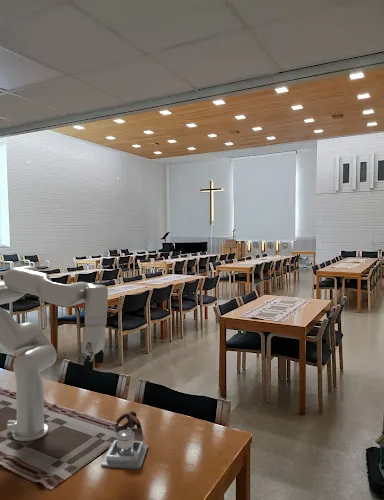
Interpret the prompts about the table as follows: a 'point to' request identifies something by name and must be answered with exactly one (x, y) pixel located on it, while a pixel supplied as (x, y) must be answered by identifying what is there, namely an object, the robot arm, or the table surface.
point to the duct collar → (125, 457)
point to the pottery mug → (130, 424)
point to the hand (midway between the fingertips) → (93, 367)
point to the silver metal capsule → (125, 443)
